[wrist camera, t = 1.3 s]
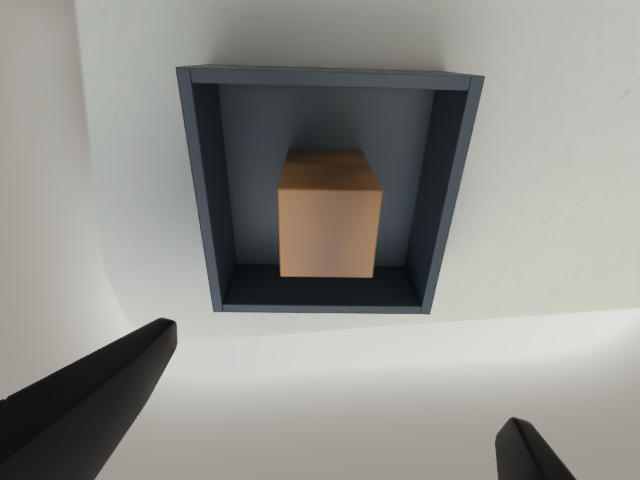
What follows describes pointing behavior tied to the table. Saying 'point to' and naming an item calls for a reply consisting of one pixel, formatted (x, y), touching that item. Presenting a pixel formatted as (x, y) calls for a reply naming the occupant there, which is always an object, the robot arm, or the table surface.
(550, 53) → the table surface
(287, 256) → the block
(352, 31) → the table surface
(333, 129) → the bin
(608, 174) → the table surface
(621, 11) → the table surface
